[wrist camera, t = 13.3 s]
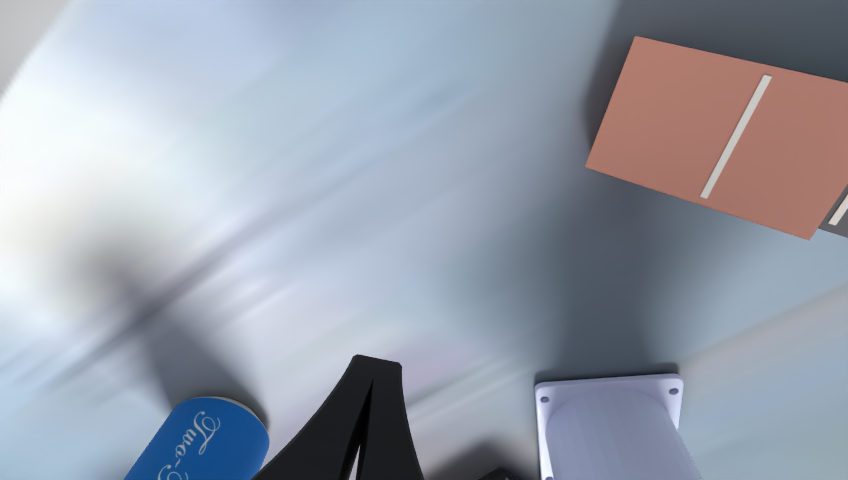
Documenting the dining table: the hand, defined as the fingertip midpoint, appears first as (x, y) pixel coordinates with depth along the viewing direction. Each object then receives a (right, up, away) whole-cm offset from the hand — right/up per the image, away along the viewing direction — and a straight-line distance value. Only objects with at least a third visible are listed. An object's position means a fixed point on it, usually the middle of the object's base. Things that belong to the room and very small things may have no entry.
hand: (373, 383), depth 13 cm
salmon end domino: (+9, +10, +5) cm, 14 cm away
